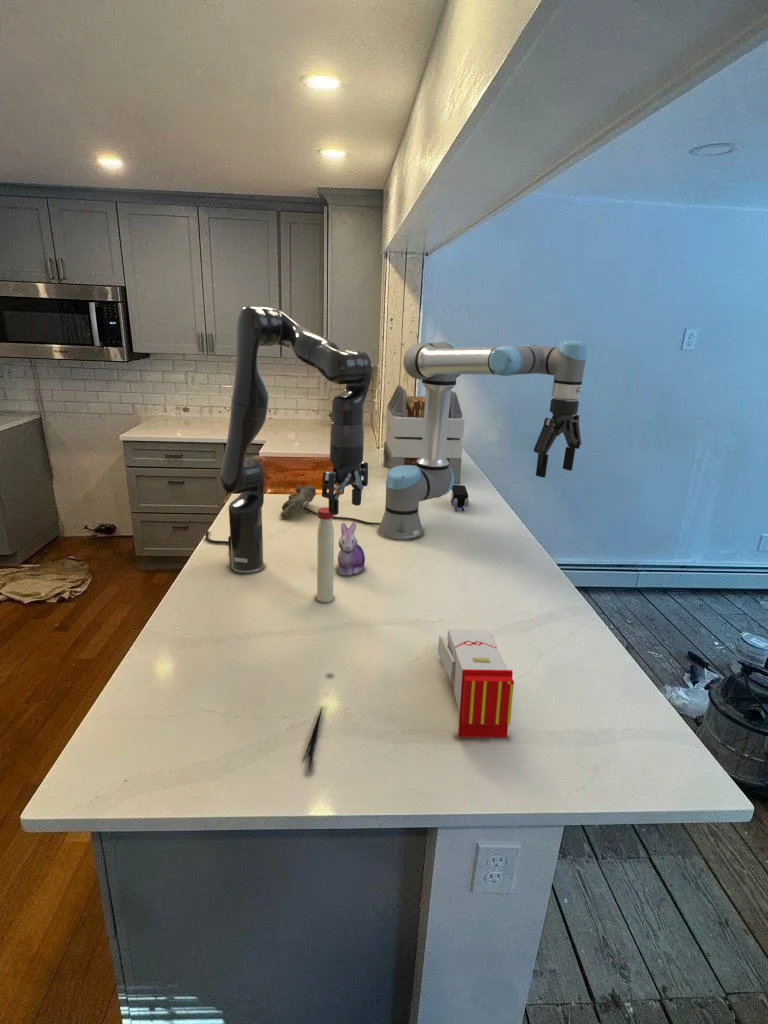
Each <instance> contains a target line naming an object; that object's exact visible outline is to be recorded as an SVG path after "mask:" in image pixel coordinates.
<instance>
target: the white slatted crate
mask: <svg viewBox="0 0 768 1024" xmlns="http://www.w3.org/2000/svg"><path fill="white" fill-rule="evenodd" d="M407 394H408V393H407V390H406V389H404V388H403V387H402V385H399V384H398V385H397V386H396V388H395V390H394V392H393V394H392V395H391V398H390V400H389V402H388V404H387V405H386V413H385V414H386V415H385V423H386V428H385V438H384V442H383V466H384V467H388V468H389V470H390V469H392V468H394V467H396V466H401V465H404V466H405V465H413V466H416V461H417V459H418V458H420V457H421V451H422V436H423V422H424V408H425V396H415V395H414V396H413V395H412V396H411V395H407ZM464 429H465V419H464V418H463V411H462V408H461V405H460V402H459V398H458V395H457V392H455V391H453V390H451V396H450V407H449V419H448V431H447V443H446V454H445V458H446V459H447V461H448V462H449V466H450V467H451V469H452V473H454V484H455V483H456V484H459V483H461V472H462V461H463V460H462V453H463V442H464V441H463V440H462V439H463V438H464V431H465V430H464Z"/></svg>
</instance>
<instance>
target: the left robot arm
mask: <svg viewBox="0 0 768 1024" xmlns="http://www.w3.org/2000/svg"><path fill="white" fill-rule="evenodd" d="M237 317H238V318H237V323H236V351H235V352H236V354H235V355H236V356H235V373H234V383H233V389H232V396H231V406H230V415H229V426H228V433H227V439H226V444H225V449H224V453H223V458H222V462H221V467H220V481H221V482H220V483H221V486H222V488H223V490H224V491H225V492H226V493H228V494H231V495H235V494H236V495H237V494H239V495H238V497H236V498H235V499H234V500H233V501H231V502H230V503H229V505H228V518H229V519H228V520H229V536H228V538H227V540H213V539H211V538H209V533H210V531H209V530H206V532H205V535H204V536H206V537H205V540H206V541H207V542H209V543H212V544H226V545H228V557H229V567H230V568H231V570H232V571H233V572H236V573H239V574H253V573H257V572H260V571H261V570H264V569H263V568H264V567H265V563H264V540H263V539H264V538H263V513H262V512H263V506H264V501H265V498H264V497H265V472H264V468H263V464H261V462H260V460H258V459H257V458H256V457H252V456H251V457H250V456H249V457H246V454H247V452H248V449H249V447H250V446H251V444H252V443H253V441H254V440H255V438H256V437H257V436H258V435H259V433H260V432H261V430H262V428H263V426H264V425H265V422H266V418H267V414H268V408H269V407H268V406H269V393H268V389H267V388H266V385H265V383H264V380H263V379H262V376H261V374H260V371H259V368H258V353H259V348H260V347H266V346H267V347H271V346H272V347H273V346H282V347H287V348H289V349H291V350H292V353H293V354H294V356H295V357H296V358H297V359H298V360H299V361H300V362H302V363H304V364H306V365H308V366H309V367H312V368H313V369H315V370H317V371H318V372H319V373H320V374H321V375H322V377H323V378H325V379H326V380H327V381H329V382H330V383H333V384H334V385H335V384H336V385H345V387H344V390H343V391H342V392H341V393H339V394H336V395H335V396H334V397H333V398H332V401H331V426H330V435H329V436H330V437H329V438H330V439H329V461H330V462H331V464H332V466H333V467H332V470H331V471H326V470H324V471H322V483H321V484H322V485H321V497H322V498H325V499H328V508H329V513H330V514H333V515H334V516H337V515H339V510H340V509H339V507H340V506H339V505H340V500H339V498H340V496H341V493H342V492H344V491H345V489H346V488H347V487H348V486H351V488H352V489H351V504H352V505H353V506H356V507H359V506H361V505H362V493H363V492H362V491H363V490H364V487H367V486H368V485H369V462H366V461H364V445H365V444H364V443H365V442H364V439H365V429H364V409H365V408H364V407H365V406H364V405H365V403H366V399H367V395H368V392H369V388H370V385H371V382H372V379H373V362H372V359H371V357H370V355H369V354H368V353H367V352H366V351H365V350H361V349H348V350H341V349H340V348H339V346H338V345H337V344H336V343H335V342H334V341H332V340H330V339H328V338H326V337H324V336H322V335H319V334H317V333H315V332H313V331H311V330H308V329H307V328H305V327H304V326H301V324H299V323H298V322H296V321H295V320H293V319H292V318H291V317H290V316H288V315H287V314H286V313H284V312H283V311H282V310H280V309H279V308H277V307H273V306H262V305H261V306H260V305H246V306H244V307H242V309H241V310H240V312H239V315H238V316H237ZM362 477H363V479H362Z"/></svg>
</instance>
